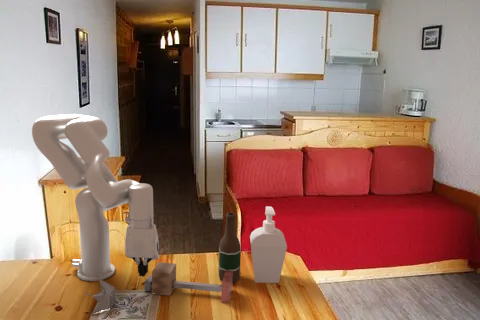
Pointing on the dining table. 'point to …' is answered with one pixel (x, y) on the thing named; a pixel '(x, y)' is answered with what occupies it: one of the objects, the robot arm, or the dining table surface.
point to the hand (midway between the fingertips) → (143, 274)
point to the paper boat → (104, 297)
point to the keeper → (163, 278)
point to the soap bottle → (268, 250)
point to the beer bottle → (230, 249)
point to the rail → (202, 286)
